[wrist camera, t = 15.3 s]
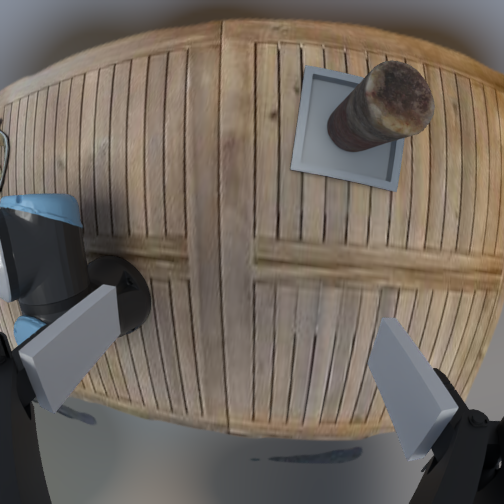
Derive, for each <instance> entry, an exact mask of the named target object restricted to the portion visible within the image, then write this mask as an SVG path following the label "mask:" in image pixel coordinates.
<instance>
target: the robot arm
mask: <svg viewBox="0 0 504 504" xmlns="http://www.w3.org/2000/svg"><path fill="white" fill-rule="evenodd" d="M0 208H1V209H0V298H1V299H3V300H5V301H6V302H12V301H15V300H17V299H18V301H19V304H20V308H21V312H22V316H20V317H18V319H17V321H16V322H15V324H14V336H15V339H16V342H17V344H18V346H17V347H16V348H15V349H14V350H13V351H11V348H10V345H9V342H8V339H7V336H6V335H5V334H4V333H2V332H0V504H52V503H51V500H50V496H49V493H48V488H47V485H46V480H45V476H44V472H43V467H42V462H41V457H40V451H39V445H38V439H37V431H36V423H35V414H34V406H33V404H32V400H33V399H34V398H35V397H36V398H37V400H38V403H39V405H40V407H42V408H44V409H46V410H48V411H50V412H52V413H54V414H55V412H56V411H57V410H58V409H59V407H60V406H61V405H62V403H63V402H64V401H65V400H66V398H67V397H68V396H69V395H70V393H71V392H72V391H73V390H74V389H75V387H76V386H77V385H78V384H79V382H80V381H81V380H82V379H83V378H84V376H85V375H86V374H87V373H88V371H89V370H90V369H91V368H92V367H93V365H94V364H95V363H96V362H97V361H98V360H99V358H100V357H101V356H102V355H103V354H104V352H105V351H106V350H107V349H108V348H109V347H110V345H111V344H112V343H113V342H114V341H115V340H116V338H118V337H121V336H124V335H126V334H129V333H132V332H134V331H135V330H137V329H138V328H139V327H140V326H141V325H142V324H143V323H144V322H145V320H146V319H147V317H148V315H149V312H150V307H151V299H150V293H149V289H148V287H147V284H146V282H145V280H144V279H143V277H142V275H141V274H140V273H139V272H138V270H137V269H136V268H135V267H134V266H133V265H131V264H130V263H129V262H127V261H126V260H124V259H121V258H119V257H115V256H103V257H100V258H98V259H96V260H94V261H92V262H91V263H89V264H88V265H87V262H86V255H85V248H84V241H83V233H82V228H83V225H82V224H81V220H80V213H79V206H78V202H77V200H76V199H75V198H74V197H73V196H71V195H69V194H26V195H12V196H5V197H2V199H1V202H0ZM368 365H369V368H370V370H371V372H372V375H373V377H374V379H375V382H376V384H377V386H378V389H379V391H380V393H381V396H382V398H383V401H384V403H385V405H386V408H387V410H388V413H389V415H390V418H391V420H392V423H393V425H394V428H395V430H396V433H397V435H398V438H399V441H400V443H401V446H402V449H403V451H404V454H405V457H406V459H407V461H411V460H416V459H421V458H424V457H425V456H426V454H427V453H428V452H429V450H430V449H432V451H433V453H434V456H433V457H432V458H431V459H430V461H429V462H428V463H427V464H426V465H425V467H424V468H423V469H422V470H421V472H424V470H425V469H426V470H425V473H424V475H423V477H422V479H421V481H420V483H419V485H418V487H417V489H416V491H415V493H414V495H413V497H412V499H411V500H410V502H409V504H504V417H503V418H502V420H501V421H489V419H488V417H487V416H486V415H485V414H484V413H482V412H480V411H478V410H474V409H472V410H469V409H468V407H467V406H466V404H465V403H464V401H463V400H462V398H461V397H460V395H459V394H458V392H457V391H456V390H454V387H453V385H452V384H450V381H449V380H448V378H447V377H446V375H445V374H444V373H442V372H441V371H440V370H438V369H437V368H432V367H431V365H430V364H429V363H428V361H427V360H426V358H425V357H424V356H423V354H422V353H421V351H420V350H419V349H418V347H417V346H416V344H415V343H414V342H413V340H412V339H411V338H410V336H409V335H408V334H407V332H406V331H405V330H404V328H403V327H402V326H401V324H400V323H399V322H398V320H397V319H396V318H383V317H382V320H381V324H380V327H379V330H378V334H377V337H376V340H375V343H374V346H373V349H372V352H371V355H370V358H369V361H368ZM500 461H502V462H501V468H499V462H500Z"/></svg>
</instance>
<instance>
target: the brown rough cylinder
mask: <svg viewBox="0 0 504 504" xmlns="http://www.w3.org/2000/svg"><path fill="white" fill-rule="evenodd" d="M434 108H435V106H434V100H433V96H432V94H431V90H430V88H429V86H428V84H427V83H426V81H425V80H424V78H423V77H422V76H421V74H420V73H419V72H418V71H417V70H416V69H415V68H413V67H412V66H410V65H408V64H405V63H402V62H399V61H385V62H383V63H381V64H379V65H377V66H376V67H374V68H373V70H372V71H371V72H370V73H369V74H368V75H367V76H366V77H365V78H364V79H363V80H362V81H361V82H360V83H359V84H358V85H357V86H356V88H355V89H354V90H353V91H352V92H351V93H350V94H349V95H348V96H347V97H346V98H345V99H344V101H343V102H342V103H341V104H340V105H338V107H337V108H336V109H335V110H334V111H333V112H332V113H331V115H330V117H329V119H328V123H327V130H328V134H329V136H330V138H331V139H332V140H333V142H334V143H335V144H336V145H337V146H338V147H339V148H341V149H343V150H345V151H349V152H359V151H363V150H367V149H370V148H373V147H376V146H379V145H382V144H385V143H388V142H392V141H396V140H399V139H402V138H406V137H409V136H413V135H415V134H419V133H420V132H421V131H423V130H424V128H426V126H427V125H428V124H429V122H430V121H431V119H432V117H433V115H434Z"/></svg>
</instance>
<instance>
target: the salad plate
mask: <svg viewBox="0 0 504 504" xmlns="http://www.w3.org/2000/svg"><path fill="white" fill-rule="evenodd" d="M0 146H4V155H5V158H4V166H3V171H2V170H1V167H0V190H1V187H2V185H3V181H4V175H5V170H6V165H7V158H8V150H9V148H8V140H7V137H6V135H5V134H4V133H3V132H1V131H0Z"/></svg>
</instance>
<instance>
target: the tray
mask: <svg viewBox="0 0 504 504" xmlns="http://www.w3.org/2000/svg"><path fill="white" fill-rule="evenodd" d="M363 79H364V78H362V77H359V76H355V75H351V74H346V73H342V72H338V71H333V70H328V69H324V68H318V67H313V66H307V65H305V70H304V76H303V84H302V91H301V98H300V106H299V113H298V120H297V126H296V133H295V140H294V147H293V153H292V160H291V166H290V170H294V171H300V172H306V173H311V174H317V175H322V176H327V177H332V178H337V179H342V180H346V181H351V182H356V183H360V184H364V185H369V186H373V187H377V188H381V189H385V190H389V191H394V192H397V187H398V181H399V175H400V168H401V161H402V154H403V146H404V138H402V139H399V140H396V141H392V142H388V143H385V144H382V145H379V146H376V147H373V148H370V149H367V150H363V151H359V152H349V151H345V150H343V149H341V148H339V147H338V146H337V145H336V144H335V143H334V142H333V140H332V139H331V138H330V136H329V134H328V130H327V123H328V119H329V117H330V115H331V113H332V112H333V111H334V110H335V109H336V108H337V107H338V105H340V104H341V103H342V102H343V101H344V99H345V98H346V97H347V96H348V95H349V94H350V93H351V92H352V91H353V90H354V89H355V88H356V86H357V85H358V84H359V83H360V82H361V81H362V80H363Z"/></svg>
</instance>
